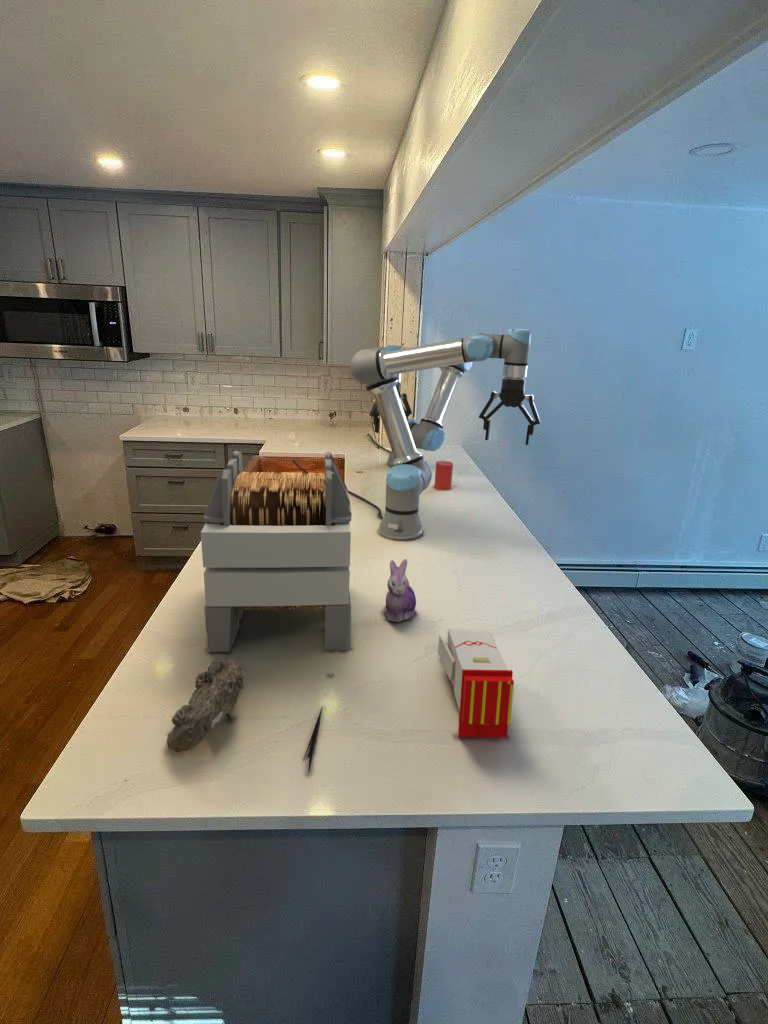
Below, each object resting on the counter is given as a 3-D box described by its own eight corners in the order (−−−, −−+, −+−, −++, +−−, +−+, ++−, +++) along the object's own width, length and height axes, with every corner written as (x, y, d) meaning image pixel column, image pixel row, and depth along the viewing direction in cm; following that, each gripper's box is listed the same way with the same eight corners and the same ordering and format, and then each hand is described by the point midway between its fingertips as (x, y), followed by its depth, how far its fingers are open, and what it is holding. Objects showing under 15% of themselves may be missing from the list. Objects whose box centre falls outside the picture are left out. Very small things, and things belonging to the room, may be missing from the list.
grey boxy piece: (227, 584, 158) (219, 441, 145) (344, 583, 162) (347, 443, 148) (205, 654, 127) (191, 480, 113) (351, 650, 130) (355, 481, 117)
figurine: (392, 627, 141) (395, 572, 136) (374, 608, 149) (376, 556, 144) (425, 619, 145) (429, 566, 140) (405, 601, 154) (408, 550, 149)
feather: (331, 679, 122) (336, 673, 122) (307, 777, 96) (313, 769, 95) (324, 675, 122) (329, 669, 121) (298, 772, 95) (304, 764, 95)
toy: (488, 613, 130) (523, 677, 101) (484, 667, 133) (517, 744, 104) (435, 612, 130) (455, 676, 101) (432, 666, 133) (451, 743, 103)
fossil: (192, 660, 117) (244, 628, 112) (224, 691, 120) (276, 661, 115) (142, 746, 98) (202, 712, 93) (182, 779, 101) (242, 748, 96)
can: (434, 489, 251) (436, 464, 247) (433, 484, 258) (435, 460, 254) (451, 490, 251) (454, 465, 247) (450, 485, 258) (452, 461, 254)
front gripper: (554, 380, 185) (545, 443, 193) (478, 374, 193) (472, 435, 200) (552, 382, 179) (543, 448, 186) (474, 376, 186) (468, 439, 194)
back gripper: (370, 384, 236) (369, 435, 243) (421, 383, 247) (418, 431, 254) (362, 382, 242) (361, 431, 249) (412, 380, 253) (410, 427, 261)
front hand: (506, 441), depth 193 cm, fingers open, 13 cm apart
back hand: (390, 431), depth 252 cm, fingers open, 13 cm apart
